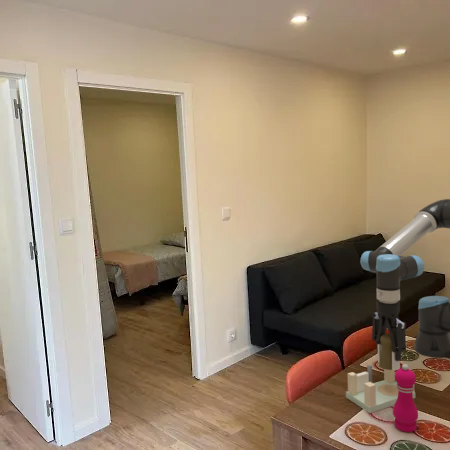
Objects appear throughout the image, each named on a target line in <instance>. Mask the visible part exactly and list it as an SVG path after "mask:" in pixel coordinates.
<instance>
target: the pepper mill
mask: <svg viewBox="0 0 450 450" xmlns="http://www.w3.org/2000/svg"><path fill="white" fill-rule="evenodd" d="M416 381H417V377H416V374H415V372H414V371H413V370H411V369H409V366H408V364H402V366H401V367H400V369H397V370H395V382H397V384H396V385H397V387H396V388H397V390H398V398H397V400H396V402H395V404H394V405H393V406H392V415H393V416H394V426H395V428H396V430H399V431H401V432H405V433H412V432H415V431H416V430H417V423H418V422H417V420H418V419H419V411H418V408H417V406H416V403H415V401H414V399H413V395H412V394H413V391H414V392H415V384H416Z"/></svg>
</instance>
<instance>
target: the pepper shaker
mask: <svg viewBox="0 0 450 450" xmlns="http://www.w3.org/2000/svg"><path fill="white" fill-rule="evenodd" d="M380 341H381V344H382V350H381V357H380V363H379V368H381V369H383V370H384V369H387V370H392V351H393V350H394V348H393V344H392V340H391V335H390V333H388V334H387V333H385V334H384V335H382V336H381V338H380Z"/></svg>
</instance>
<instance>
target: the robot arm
mask: <svg viewBox="0 0 450 450" xmlns="http://www.w3.org/2000/svg"><path fill="white" fill-rule="evenodd" d="M437 229H450V198H444V199H443V198H442V199H439V200H436V201H435V202H432V203H429V204H428V205H427V206H425V207H423V208H422V209H420V210H419V211H417V212H416V213H415V215H414V217H413V219H412V220H410V222H408V223H407V224H405V226H404V227H402V228H401V229H399V230H398V231H397V232H396V233H394V234H393V235H392V236H391V237H390V238H389V239H387V241H385V242H384V243H383V244H382V245H380V246H379V247H378V248H376V250H374V251H373V250H366V251H364V252H363V253H362V254H361V257H360V260H359V262H360V265H361V268H362V269H363V270H364V271H368V272H370V273H374V274H375V277H376V312H373V313H371V318H372V325H371V326H372V330H371V332H372V333H371V339H372V341H375V344H376V352H377V362H378V364H380V357H381V350H382V344H381V341H380V338H381V336H382V335H384V334H387V330H388V332H389V334H390V335H391V340H392V344H393V348H394V350H393V351H392V370H395V371H397V370H398V369H401V367H400V365H401V360H402V352H405V351H407V340H406V338H407V337H406V326H407V323H406V322H405V321H401V320H400V317H399V314H400V312H401V301H400V300H401V281H405V280H409V279H414V278H417V277H419V276H421V275H422V274H423V273H424V272H425V263H424V260H422V258H421V257H419V256H418V255H407V256H403V255H404V254H405V253H406V252H407V251H408V250H410V249H411V248H412V247H413V246H414V245H416V244H417V243H418V242H419V241H420V240H421V239H423V237H425V236H426V235H427V234H428V233H433V232H434V231H436V230H437ZM417 310H418V332H417V335H416V337H415V341H414V344H413V347H414V348H413V349H414V350H415V352H417V353H418V354H421V355H423V356H427V357H432V358H434V357H435V358H447V357H449V356H450V298H449V297H447V296H444V295H431V296H430V295H429V296H424V297H422V298H420V299H419V301H418V308H417Z"/></svg>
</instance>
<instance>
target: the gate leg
mask: <svg viewBox="0 0 450 450" xmlns="http://www.w3.org/2000/svg"><path fill="white" fill-rule="evenodd" d="M368 382H369V373H367V371H362V372H359V373H355V372H353V371H352V372H348V373H347V391H348V393H349V394H351V395H355V394H357V393H359V392H362V391H364V383H368Z"/></svg>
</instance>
